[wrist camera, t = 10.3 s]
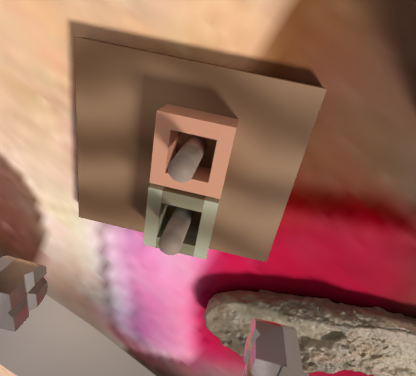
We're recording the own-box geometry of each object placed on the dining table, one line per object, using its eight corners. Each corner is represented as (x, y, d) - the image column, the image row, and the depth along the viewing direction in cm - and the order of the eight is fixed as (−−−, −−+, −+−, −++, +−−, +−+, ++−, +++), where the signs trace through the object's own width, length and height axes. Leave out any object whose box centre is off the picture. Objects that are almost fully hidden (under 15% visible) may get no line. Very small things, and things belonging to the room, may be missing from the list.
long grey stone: (480, 375, 36) (524, 316, 32) (519, 424, 31) (577, 361, 27) (201, 332, 37) (210, 270, 33) (196, 372, 32) (206, 305, 28)
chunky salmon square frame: (238, 119, 23) (236, 127, 21) (223, 184, 26) (220, 199, 23) (167, 103, 24) (156, 110, 21) (160, 169, 26) (149, 182, 24)
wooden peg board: (265, 252, 30) (268, 309, 24) (86, 209, 32) (40, 252, 25) (322, 87, 23) (350, 101, 16) (84, 37, 24) (18, 32, 17)
